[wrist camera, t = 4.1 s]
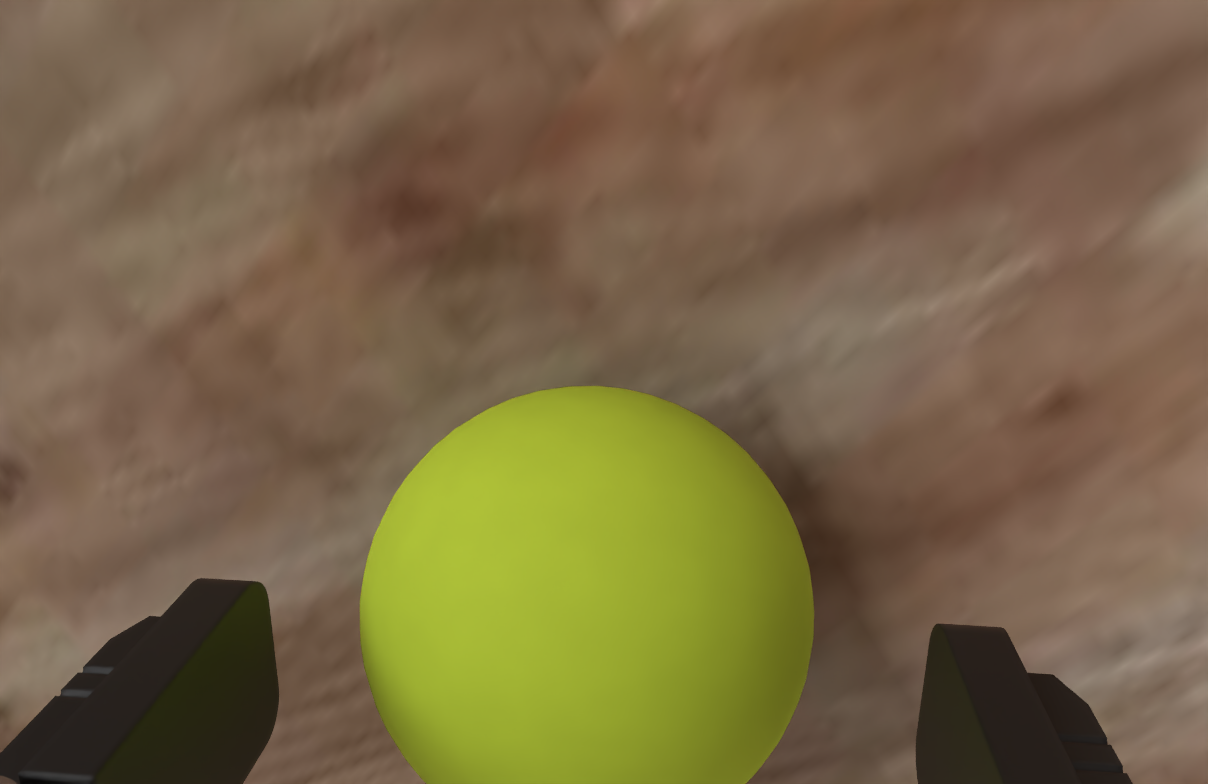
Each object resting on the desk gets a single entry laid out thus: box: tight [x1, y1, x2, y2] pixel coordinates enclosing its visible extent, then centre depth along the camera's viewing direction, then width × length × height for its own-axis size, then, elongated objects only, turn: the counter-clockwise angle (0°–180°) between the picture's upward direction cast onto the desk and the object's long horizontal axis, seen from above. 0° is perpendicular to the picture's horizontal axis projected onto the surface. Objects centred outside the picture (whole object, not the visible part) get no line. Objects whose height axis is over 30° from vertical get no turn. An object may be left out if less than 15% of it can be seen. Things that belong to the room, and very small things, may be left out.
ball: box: [360, 386, 814, 784], centre depth 14 cm, size 6×6×6 cm
